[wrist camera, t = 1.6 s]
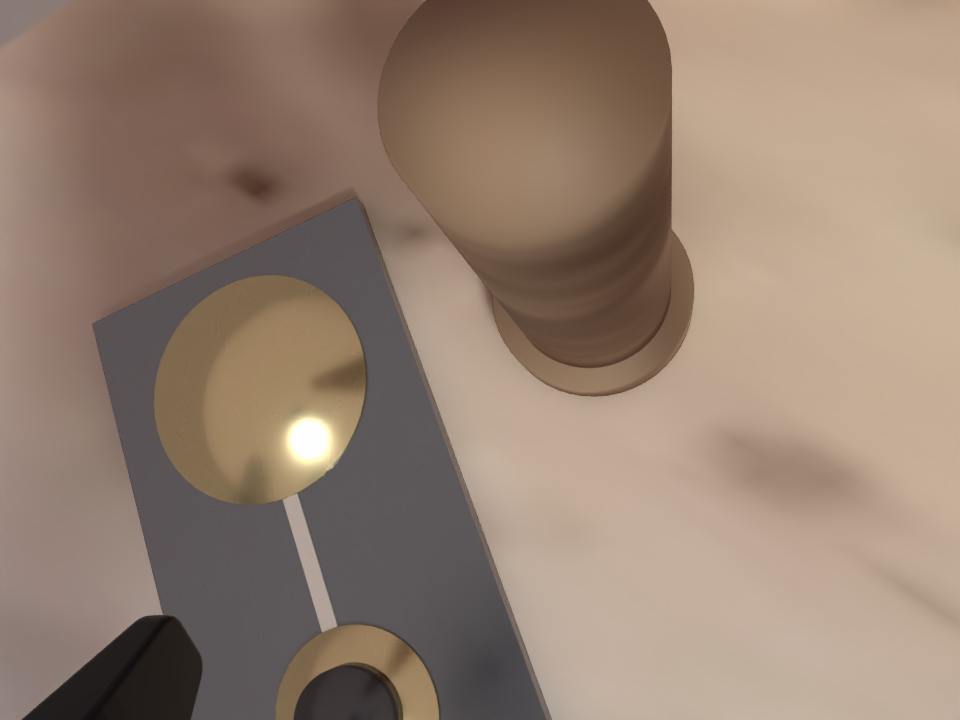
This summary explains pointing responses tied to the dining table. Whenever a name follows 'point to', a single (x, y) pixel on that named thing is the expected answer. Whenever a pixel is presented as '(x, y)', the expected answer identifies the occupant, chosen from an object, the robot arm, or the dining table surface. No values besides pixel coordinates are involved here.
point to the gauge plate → (309, 492)
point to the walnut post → (550, 175)
